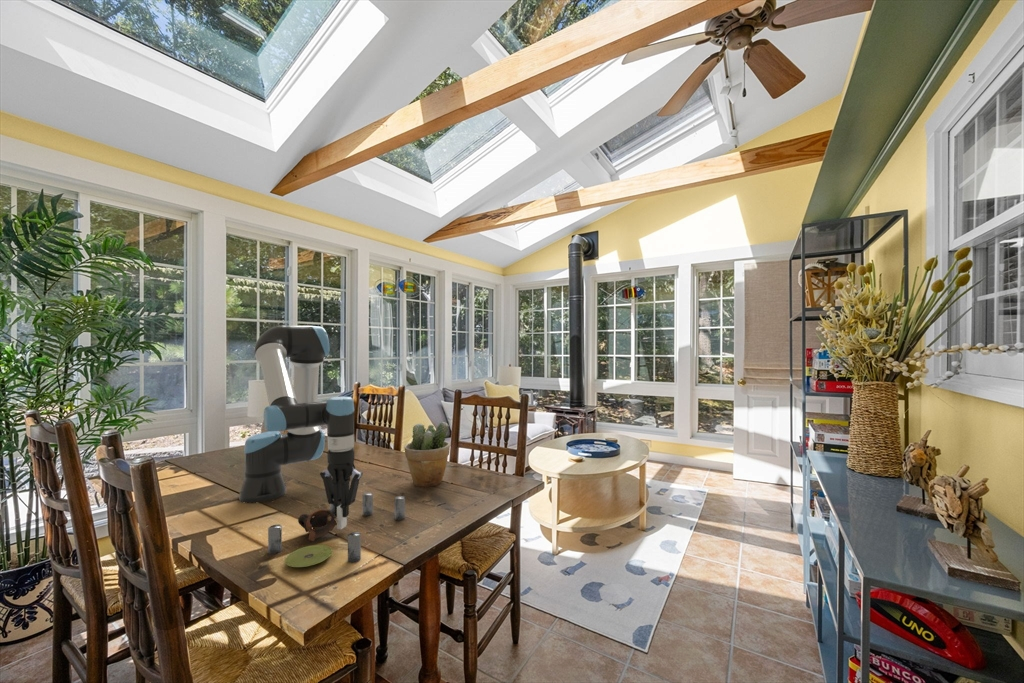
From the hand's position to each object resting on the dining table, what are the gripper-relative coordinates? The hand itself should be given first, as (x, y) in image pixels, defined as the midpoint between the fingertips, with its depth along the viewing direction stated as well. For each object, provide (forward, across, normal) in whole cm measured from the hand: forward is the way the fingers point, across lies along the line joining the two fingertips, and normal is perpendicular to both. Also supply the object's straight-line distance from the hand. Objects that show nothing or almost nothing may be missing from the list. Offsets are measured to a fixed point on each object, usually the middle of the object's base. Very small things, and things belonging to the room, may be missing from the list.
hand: (341, 527), depth 125 cm
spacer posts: (+2, -3, 0) cm, 4 cm away
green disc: (+2, +1, -16) cm, 16 cm away
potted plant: (+2, +8, +47) cm, 48 cm away
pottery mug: (+3, -8, -1) cm, 9 cm away
